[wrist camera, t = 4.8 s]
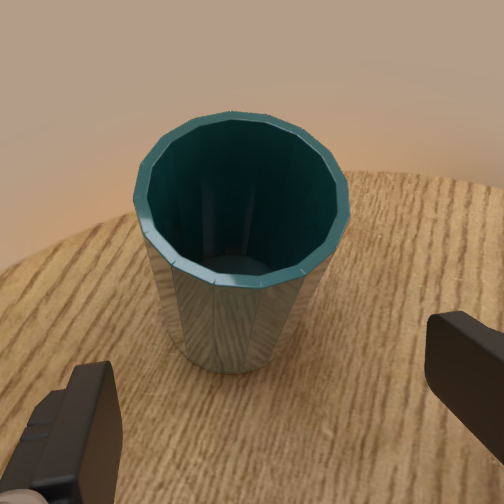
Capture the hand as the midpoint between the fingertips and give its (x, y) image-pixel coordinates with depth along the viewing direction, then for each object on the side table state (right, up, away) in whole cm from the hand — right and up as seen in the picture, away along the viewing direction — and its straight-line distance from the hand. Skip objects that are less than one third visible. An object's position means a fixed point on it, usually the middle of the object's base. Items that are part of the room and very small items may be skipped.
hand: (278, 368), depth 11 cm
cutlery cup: (-2, 0, +11) cm, 11 cm away
